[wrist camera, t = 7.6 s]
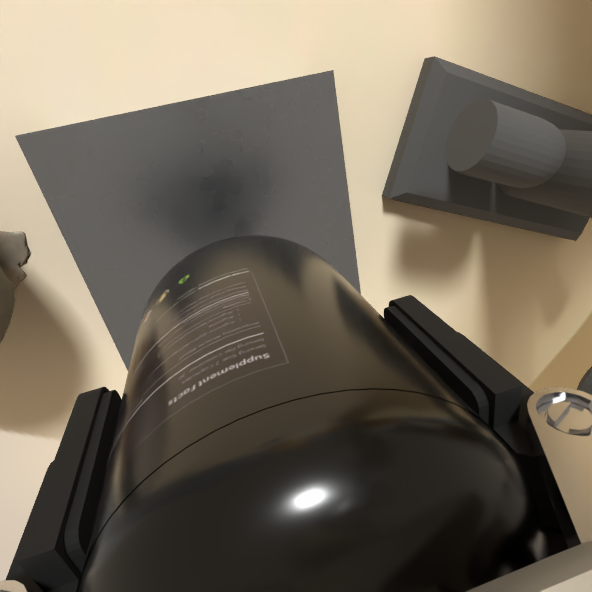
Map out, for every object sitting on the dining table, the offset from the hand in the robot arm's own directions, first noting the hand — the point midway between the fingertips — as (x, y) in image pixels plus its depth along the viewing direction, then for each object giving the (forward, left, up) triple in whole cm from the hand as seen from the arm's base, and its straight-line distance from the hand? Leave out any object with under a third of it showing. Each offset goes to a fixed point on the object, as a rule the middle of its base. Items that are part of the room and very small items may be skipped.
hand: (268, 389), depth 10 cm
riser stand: (0, 0, -17) cm, 17 cm away
